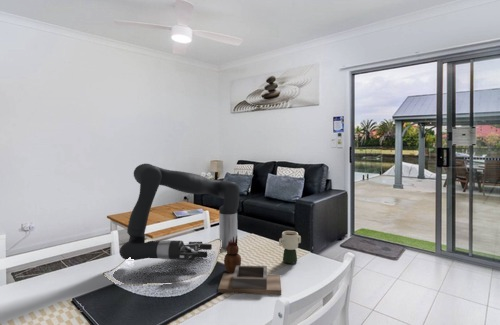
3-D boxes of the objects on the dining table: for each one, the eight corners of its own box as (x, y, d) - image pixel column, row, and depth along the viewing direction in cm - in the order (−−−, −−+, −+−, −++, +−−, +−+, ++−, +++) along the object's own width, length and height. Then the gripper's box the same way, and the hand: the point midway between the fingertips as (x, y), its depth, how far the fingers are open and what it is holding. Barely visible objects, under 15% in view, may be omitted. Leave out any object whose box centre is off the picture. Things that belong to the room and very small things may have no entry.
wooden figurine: (243, 270, 118) (243, 234, 117) (236, 276, 113) (236, 238, 112) (228, 267, 121) (228, 232, 120) (221, 272, 116) (221, 236, 115)
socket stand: (223, 276, 112) (223, 264, 112) (279, 278, 111) (280, 265, 110) (218, 292, 100) (218, 278, 100) (281, 294, 99) (281, 280, 98)
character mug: (296, 257, 132) (296, 229, 131) (304, 263, 125) (305, 233, 124) (275, 261, 127) (275, 232, 127) (283, 267, 121) (283, 237, 120)
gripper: (164, 247, 111) (205, 247, 110) (176, 235, 125) (212, 236, 124) (164, 265, 111) (205, 267, 110) (176, 252, 125) (213, 253, 124)
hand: (209, 250), depth 117 cm, fingers open, 8 cm apart
